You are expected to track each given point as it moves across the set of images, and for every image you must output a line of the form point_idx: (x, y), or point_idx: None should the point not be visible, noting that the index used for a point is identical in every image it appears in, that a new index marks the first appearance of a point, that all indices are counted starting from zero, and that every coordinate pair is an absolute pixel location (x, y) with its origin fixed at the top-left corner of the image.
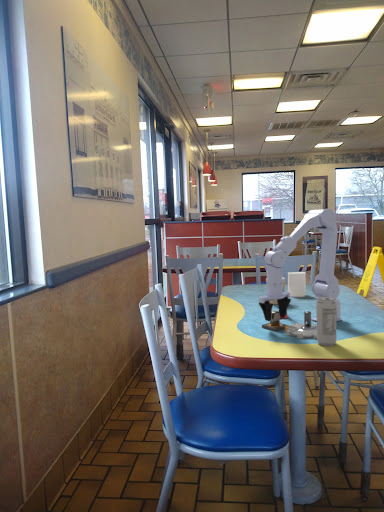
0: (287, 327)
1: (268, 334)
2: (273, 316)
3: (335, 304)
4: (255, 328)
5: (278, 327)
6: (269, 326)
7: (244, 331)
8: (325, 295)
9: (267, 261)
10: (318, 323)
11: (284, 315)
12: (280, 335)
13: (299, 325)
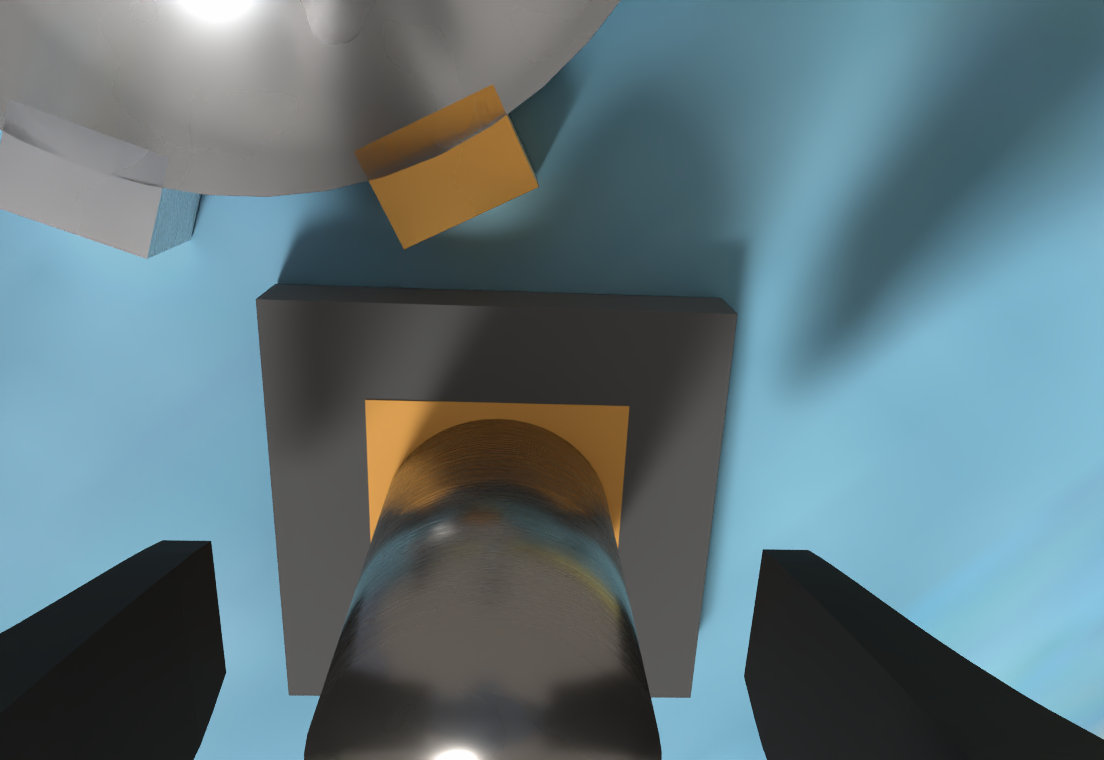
0: (509, 120)
1: (983, 270)
2: (628, 630)
3: None
4: None
5: (589, 348)
6: (676, 527)
7: (1096, 684)
8: None
9: None
10: None
11: (157, 563)
12: (876, 27)
13: (84, 2)
